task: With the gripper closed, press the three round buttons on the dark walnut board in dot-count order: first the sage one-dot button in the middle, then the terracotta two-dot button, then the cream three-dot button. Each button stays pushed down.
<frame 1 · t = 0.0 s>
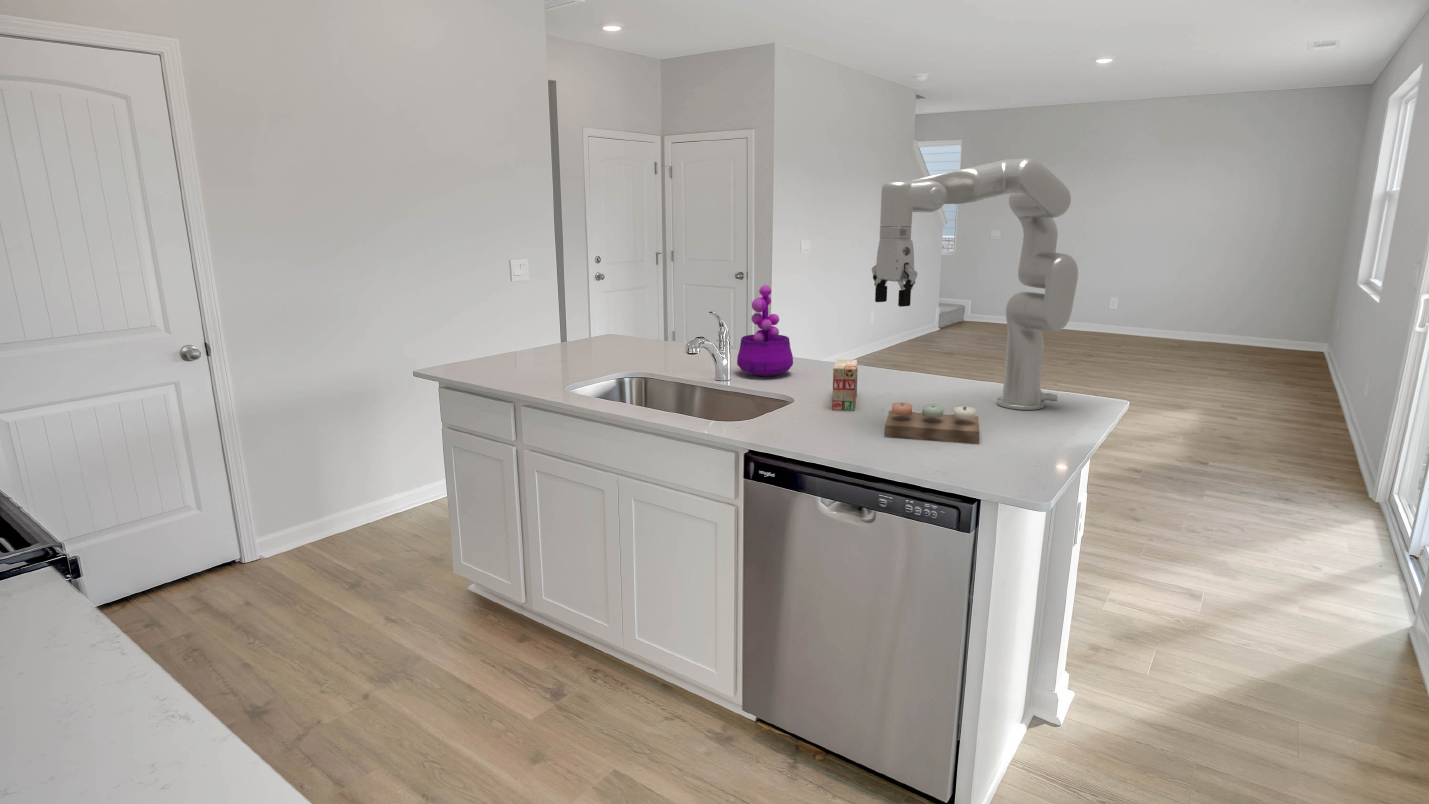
hand: (892, 303, 195), 31 cm above the countertop, tool pointing down, fingers open, 9 cm apart
cream button: (964, 412, 191), point 6 cm above the countertop, slide at 0.0 cm
button board: (931, 432, 195), on the countertop
terracotta button: (901, 408, 196), point 6 cm above the countertop, slide at 0.0 cm
sage button: (932, 410, 193), point 6 cm above the countertop, slide at 0.0 cm
stack of blocks: (845, 402, 226), on the countertop
decorative plant: (765, 375, 263), on the countertop
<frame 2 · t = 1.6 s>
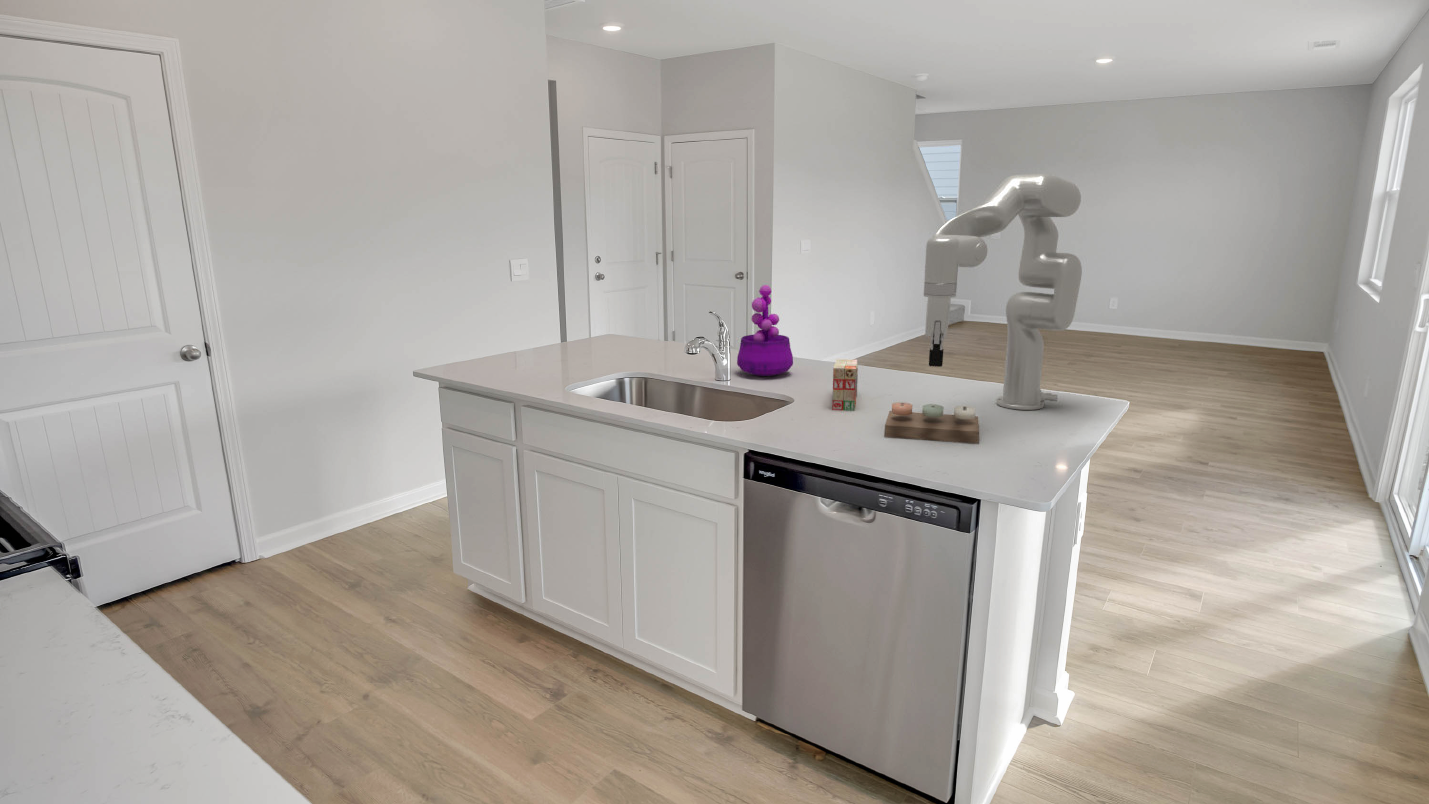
hand: (935, 365, 191), 17 cm above the countertop, tool pointing down, fingers closed
nothing on the countertop moved.
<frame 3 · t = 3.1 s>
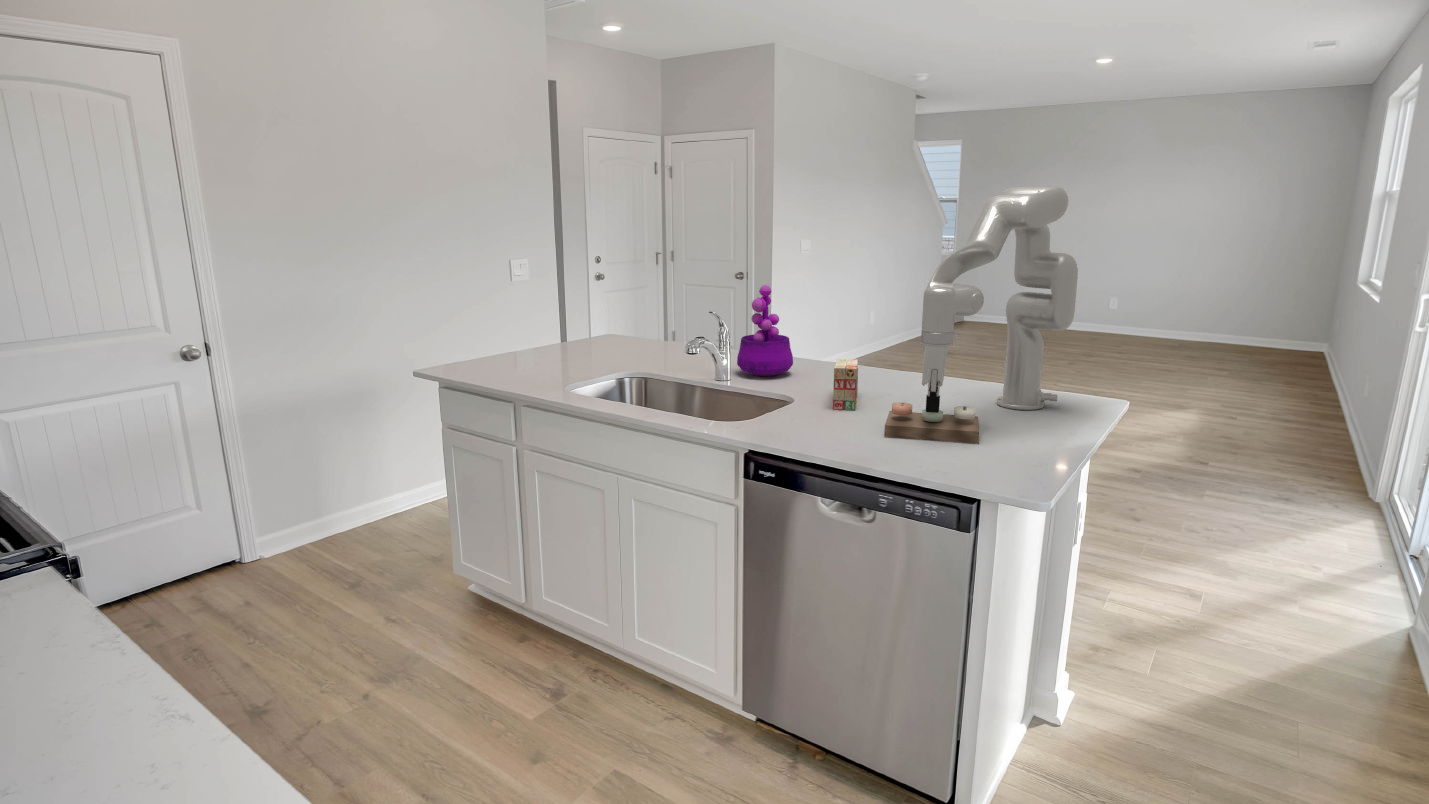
hand: (932, 411, 193), 5 cm above the countertop, tool pointing down, fingers closed
sage button: (932, 415, 194), point 4 cm above the countertop, slide at 1.3 cm, touching gripper
everything else where it was.
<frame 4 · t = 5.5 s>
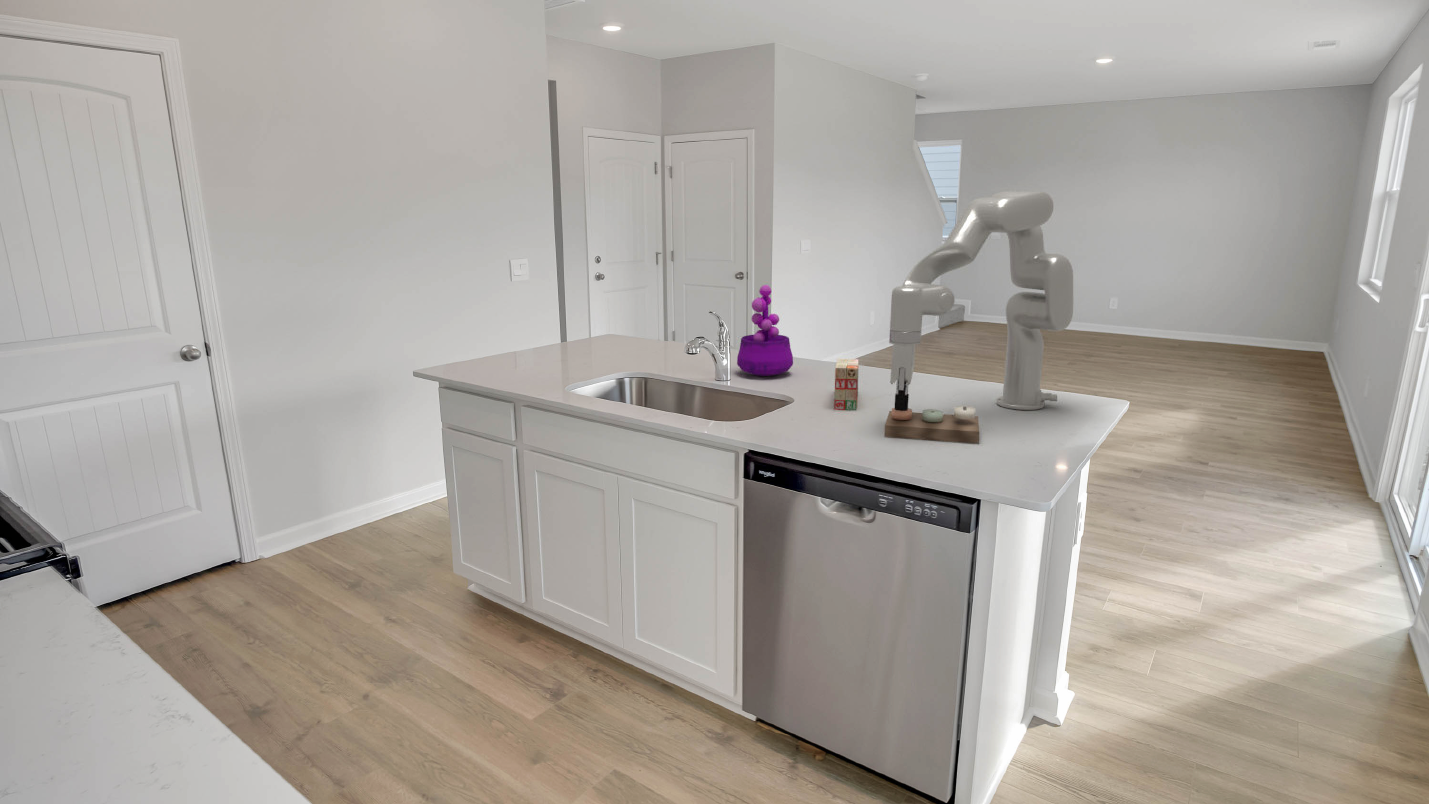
hand: (901, 409, 196), 5 cm above the countertop, tool pointing down, fingers closed
terracotta button: (901, 413, 196), point 4 cm above the countertop, slide at 1.3 cm, touching gripper
sage button: (932, 415, 194), point 4 cm above the countertop, slide at 1.3 cm
everything else where it was.
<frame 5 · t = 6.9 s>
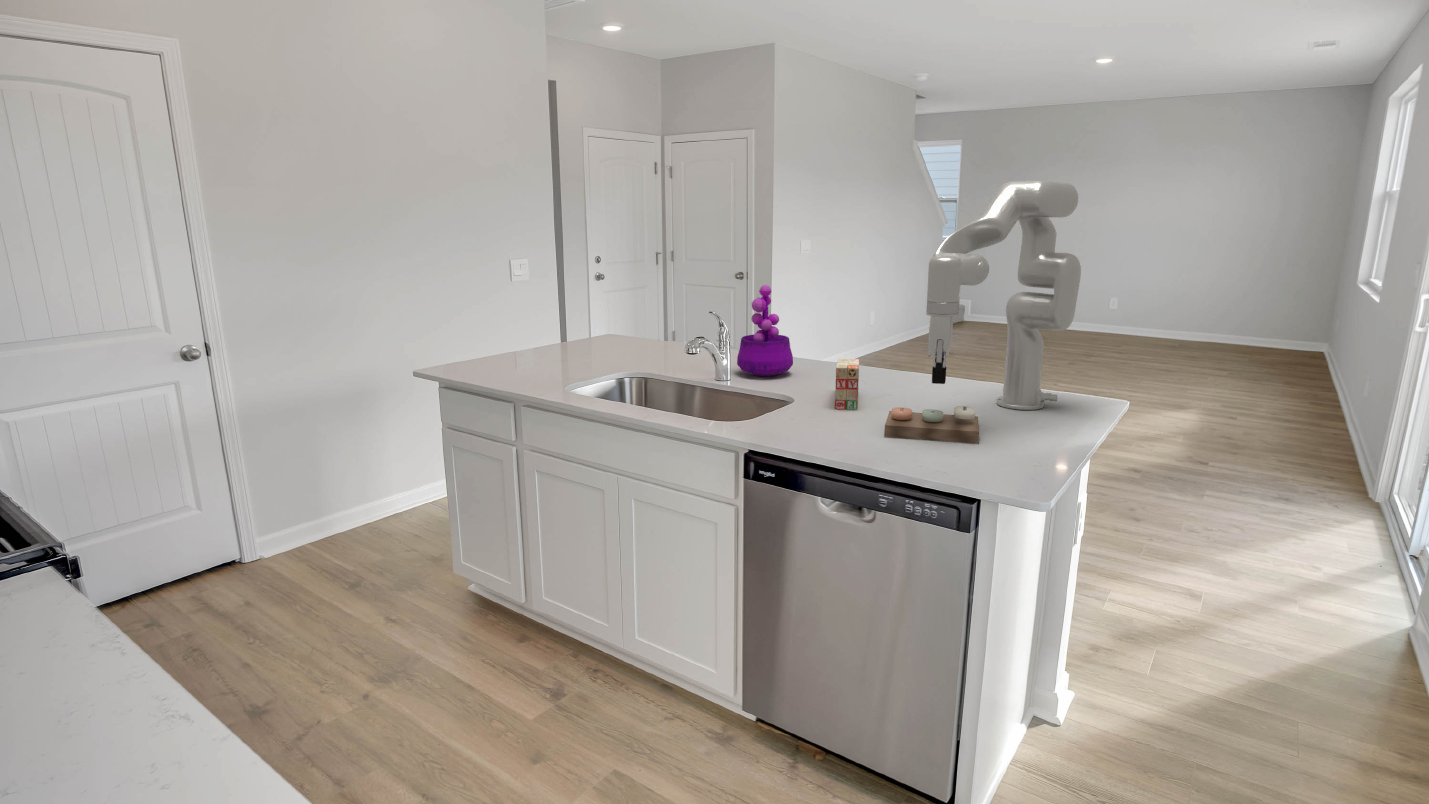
hand: (938, 382, 192), 13 cm above the countertop, tool pointing down, fingers closed
terracotta button: (901, 413, 196), point 4 cm above the countertop, slide at 1.3 cm
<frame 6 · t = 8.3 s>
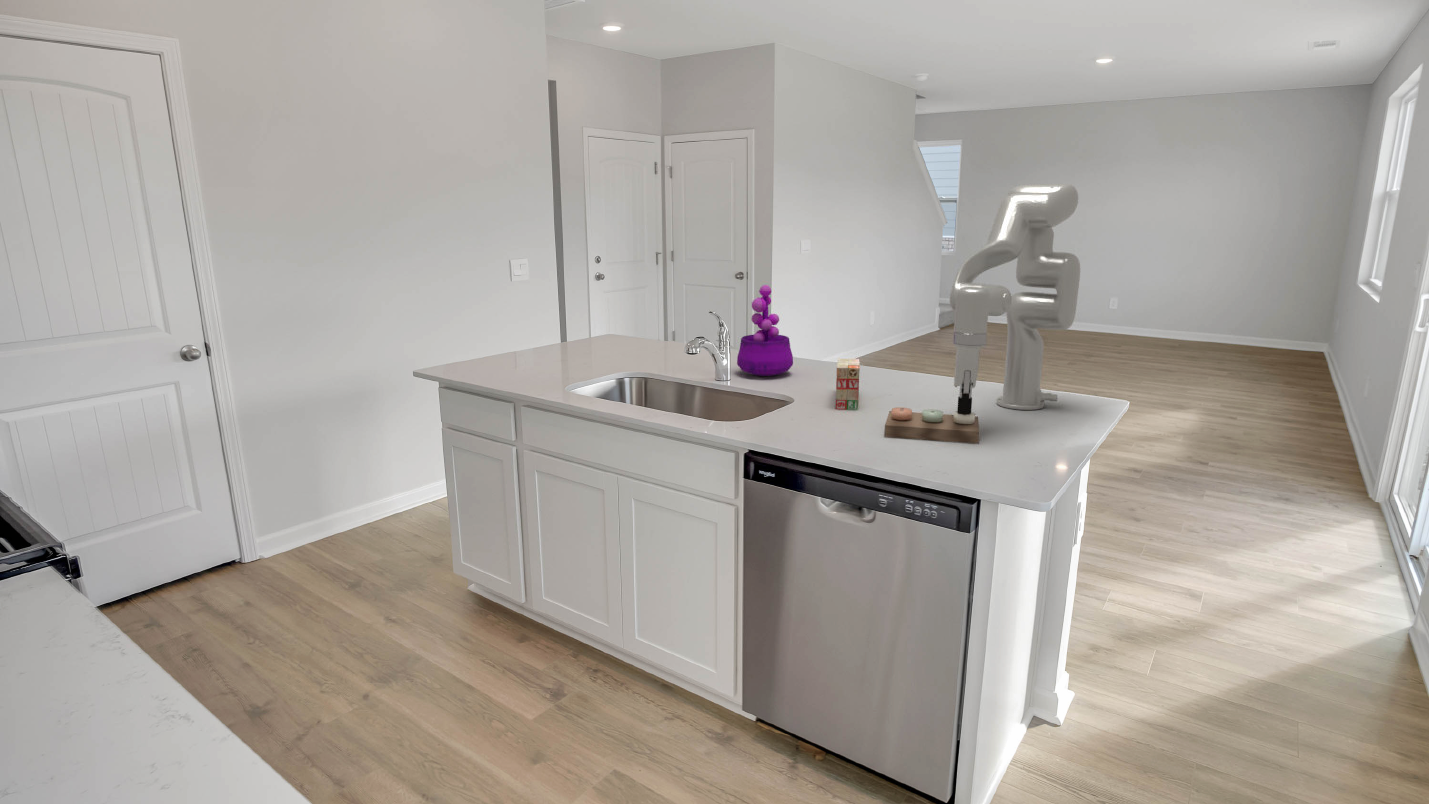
hand: (964, 413, 191), 5 cm above the countertop, tool pointing down, fingers closed
cream button: (964, 417, 192), point 4 cm above the countertop, slide at 1.2 cm, touching gripper
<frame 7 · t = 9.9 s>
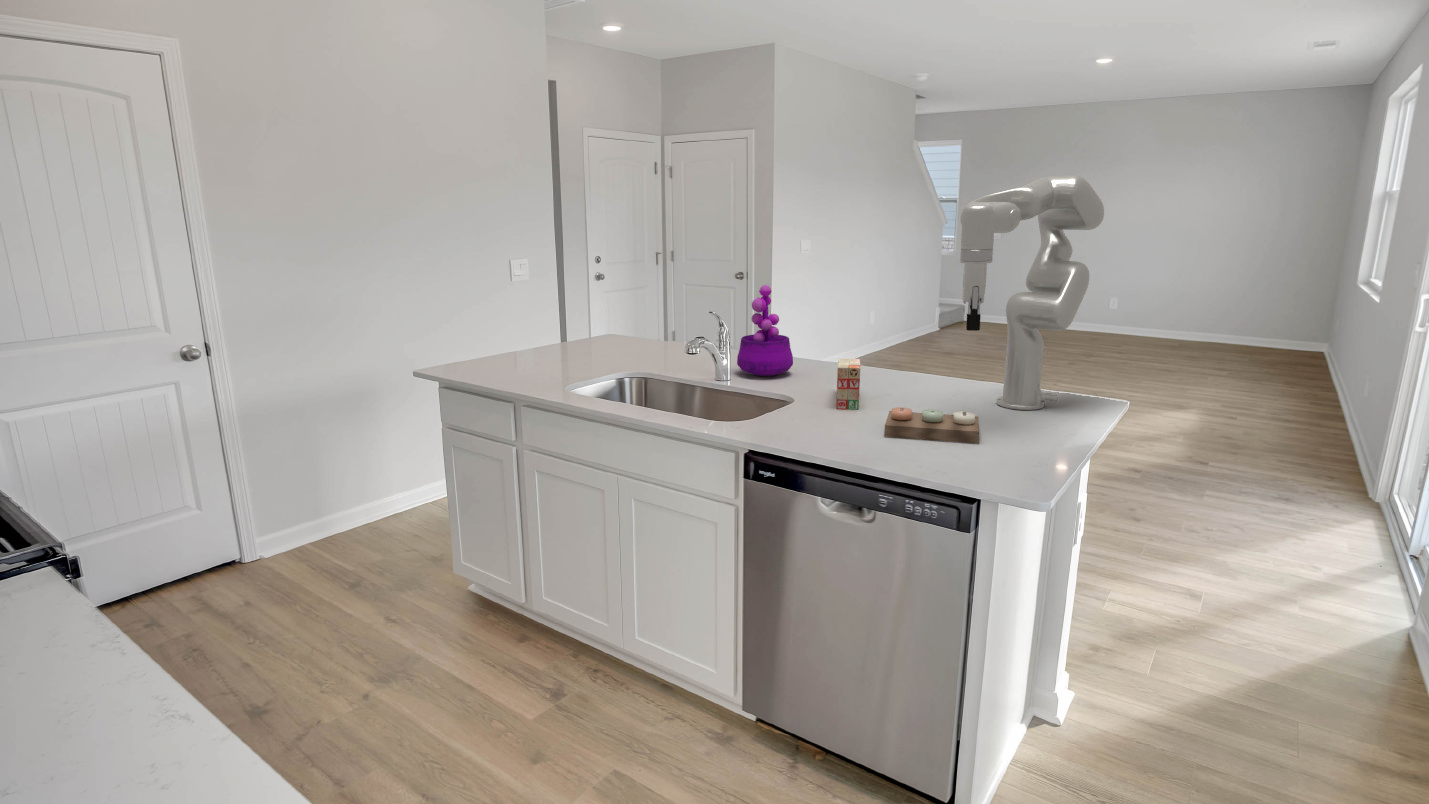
hand: (972, 329, 196), 24 cm above the countertop, tool pointing down, fingers closed
cream button: (964, 417, 192), point 4 cm above the countertop, slide at 1.3 cm
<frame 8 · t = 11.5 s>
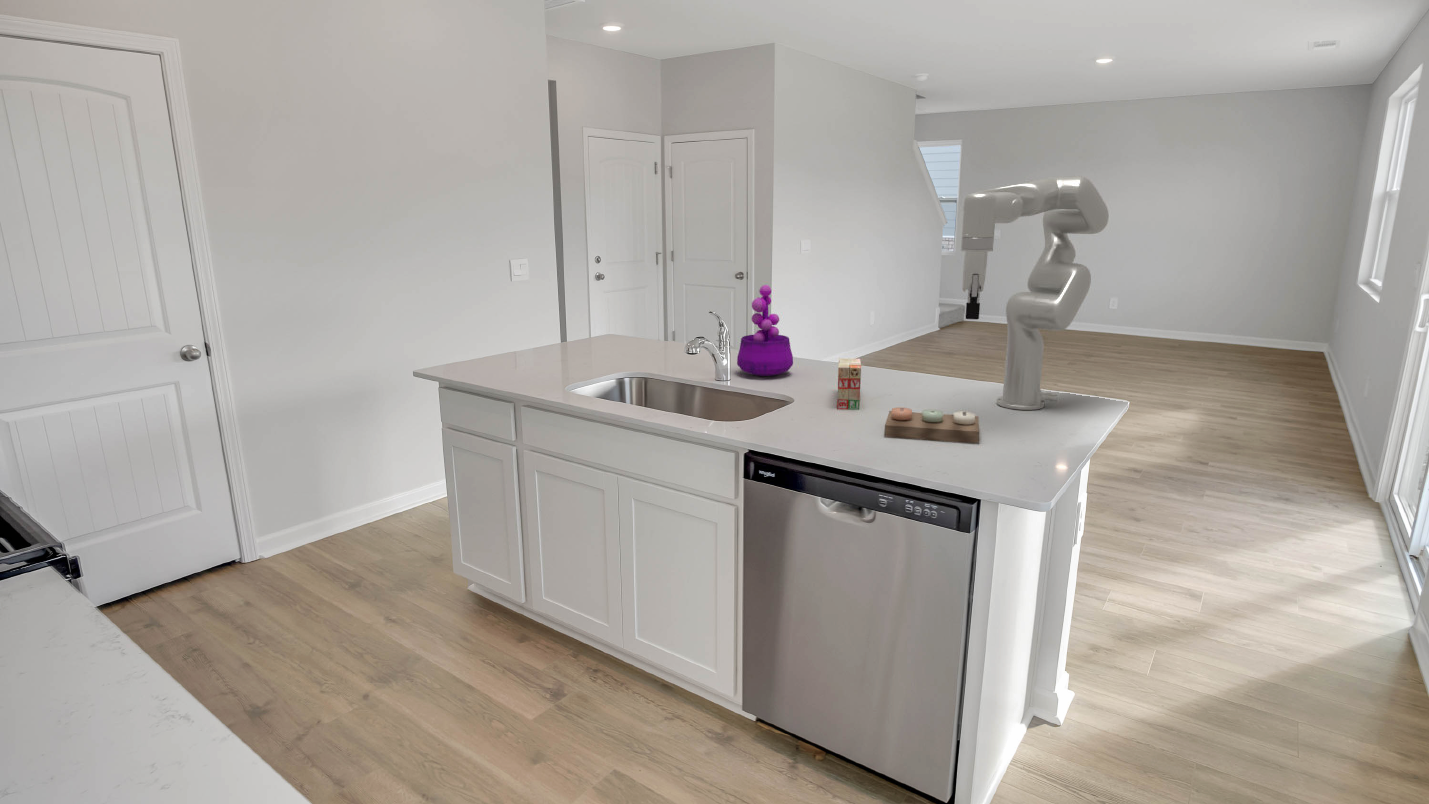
hand: (972, 318, 197), 27 cm above the countertop, tool pointing down, fingers closed
at the end: sage button slide at 1.3 cm; terracotta button slide at 1.3 cm; cream button slide at 1.3 cm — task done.
